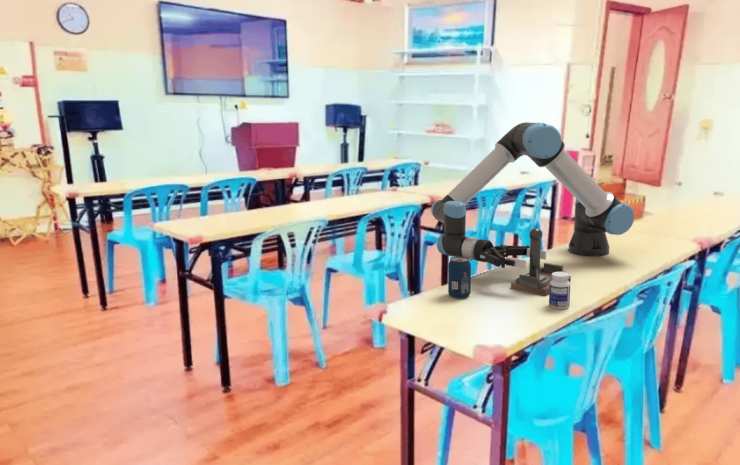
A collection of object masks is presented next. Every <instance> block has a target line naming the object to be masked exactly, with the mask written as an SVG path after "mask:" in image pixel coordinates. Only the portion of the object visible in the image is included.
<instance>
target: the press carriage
mask: <svg viewBox="0 0 740 465" xmlns="http://www.w3.org/2000/svg"><path fill="white" fill-rule="evenodd" d="M528 235H529V239H530V240H529V242H530V243H529V244H530V245H529V247H530V257H529V267H528V268H529V269H528V270H529V271H528V273H529V274H528V275H526V276H531V277H536V278H539V283H540V282H542V281H544V280H546V276H541V275H540V267H541V259H540V252H541V250H542V249H541V247H542V237H543V232H542V230H541V229H540V228H537V227H534V228H532V229H531V230H530V231H529V233H528Z"/></svg>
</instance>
